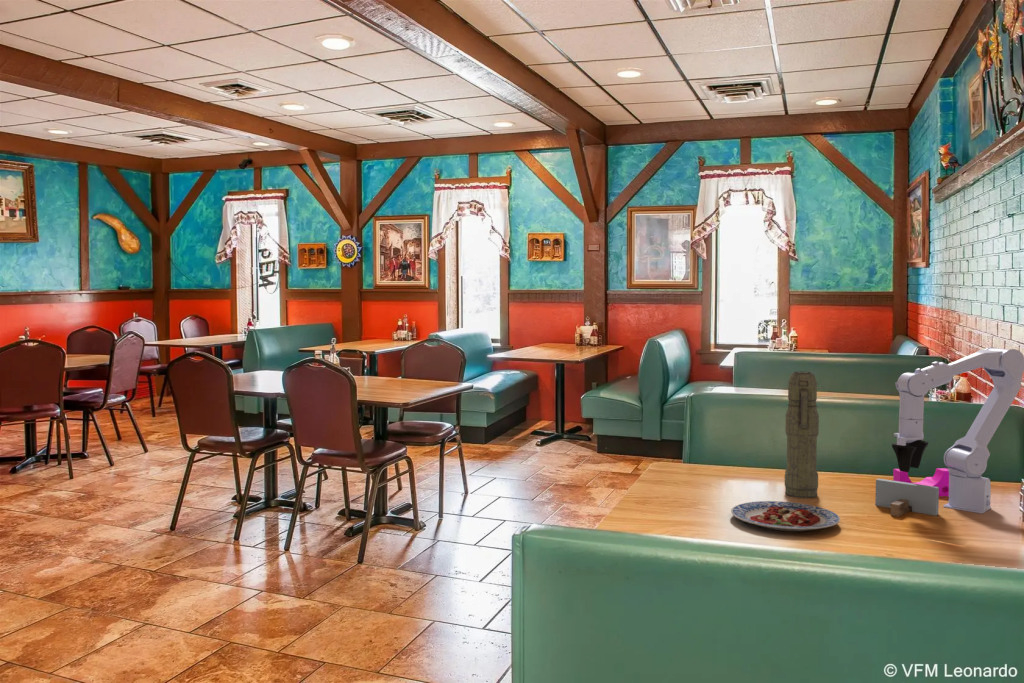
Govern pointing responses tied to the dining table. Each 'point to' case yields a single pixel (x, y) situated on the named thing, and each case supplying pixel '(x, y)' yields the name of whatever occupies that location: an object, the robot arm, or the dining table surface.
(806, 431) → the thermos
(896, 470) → the toy block
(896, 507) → the walnut rail
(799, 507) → the ceramic plate
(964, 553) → the dining table surface
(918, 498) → the slate plate
